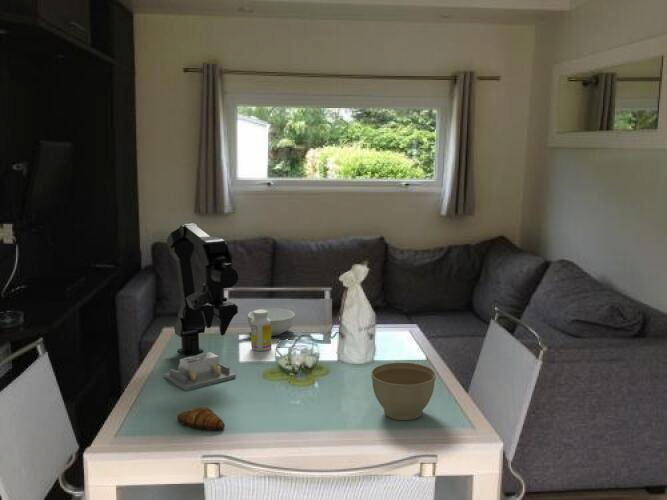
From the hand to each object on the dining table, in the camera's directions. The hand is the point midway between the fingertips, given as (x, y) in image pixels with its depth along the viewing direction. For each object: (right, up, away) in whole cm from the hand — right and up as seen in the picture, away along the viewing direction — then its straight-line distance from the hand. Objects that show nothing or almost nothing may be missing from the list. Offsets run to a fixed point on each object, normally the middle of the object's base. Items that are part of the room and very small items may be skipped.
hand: (215, 331), depth 198 cm
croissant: (+3, -19, -38) cm, 43 cm away
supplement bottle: (+12, -9, +21) cm, 26 cm away
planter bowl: (+53, -17, -32) cm, 64 cm away
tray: (-4, -13, -6) cm, 14 cm away
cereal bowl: (+13, -6, +40) cm, 42 cm away
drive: (-4, -12, -6) cm, 14 cm away
